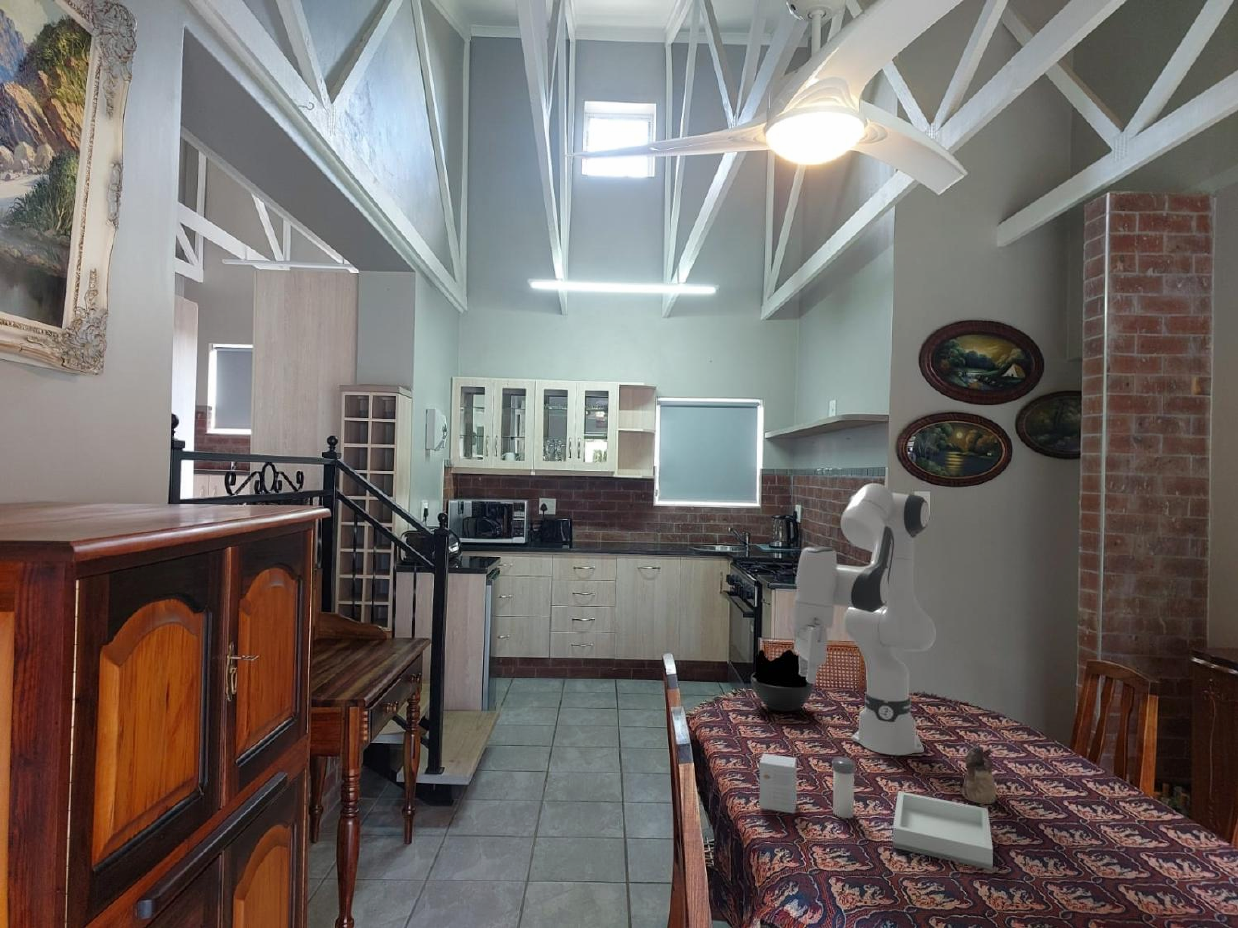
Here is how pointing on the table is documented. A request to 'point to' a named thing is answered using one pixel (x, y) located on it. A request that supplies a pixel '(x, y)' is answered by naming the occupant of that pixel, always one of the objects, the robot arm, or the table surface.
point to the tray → (943, 830)
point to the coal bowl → (780, 682)
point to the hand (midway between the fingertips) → (806, 679)
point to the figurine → (979, 777)
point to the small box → (778, 783)
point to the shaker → (843, 787)
